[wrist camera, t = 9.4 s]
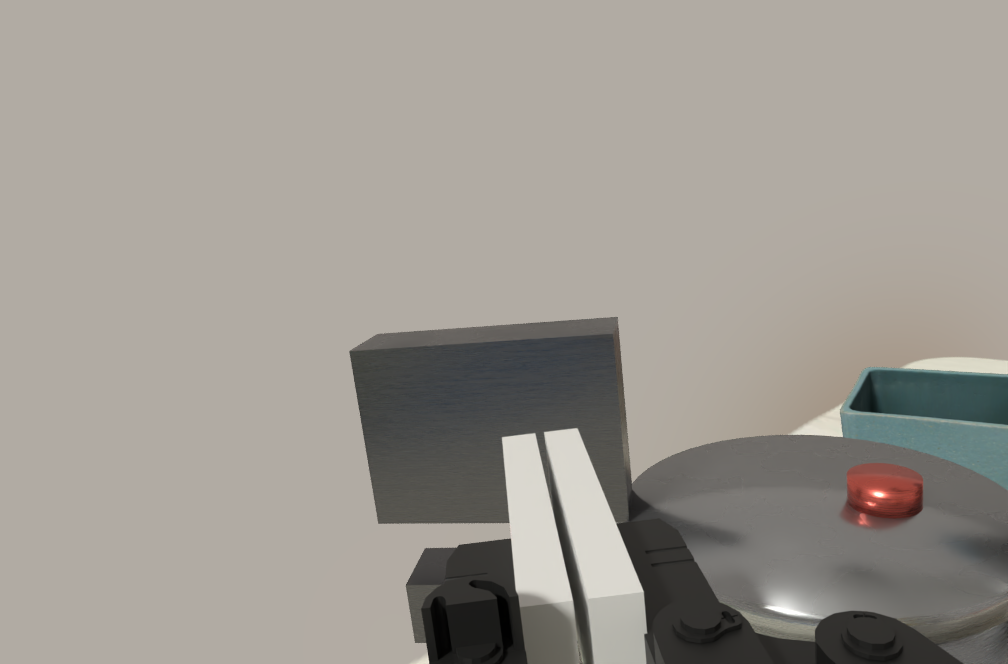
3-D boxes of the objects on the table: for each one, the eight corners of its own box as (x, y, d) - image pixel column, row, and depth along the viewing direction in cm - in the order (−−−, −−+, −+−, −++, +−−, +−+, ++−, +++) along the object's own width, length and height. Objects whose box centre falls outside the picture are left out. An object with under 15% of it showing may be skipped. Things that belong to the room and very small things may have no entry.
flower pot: (1035, 522, 40) (1042, 373, 39) (1042, 606, 33) (1051, 428, 32) (865, 498, 45) (863, 365, 44) (840, 566, 38) (837, 411, 37)
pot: (1010, 627, 32) (1017, 454, 30) (1253, 918, 20) (1289, 654, 18) (471, 626, 37) (450, 477, 35) (393, 860, 25) (354, 647, 23)
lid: (944, 451, 31) (947, 266, 29) (1148, 658, 18) (1175, 349, 16) (441, 463, 36) (419, 308, 35) (321, 630, 23) (276, 395, 22)
